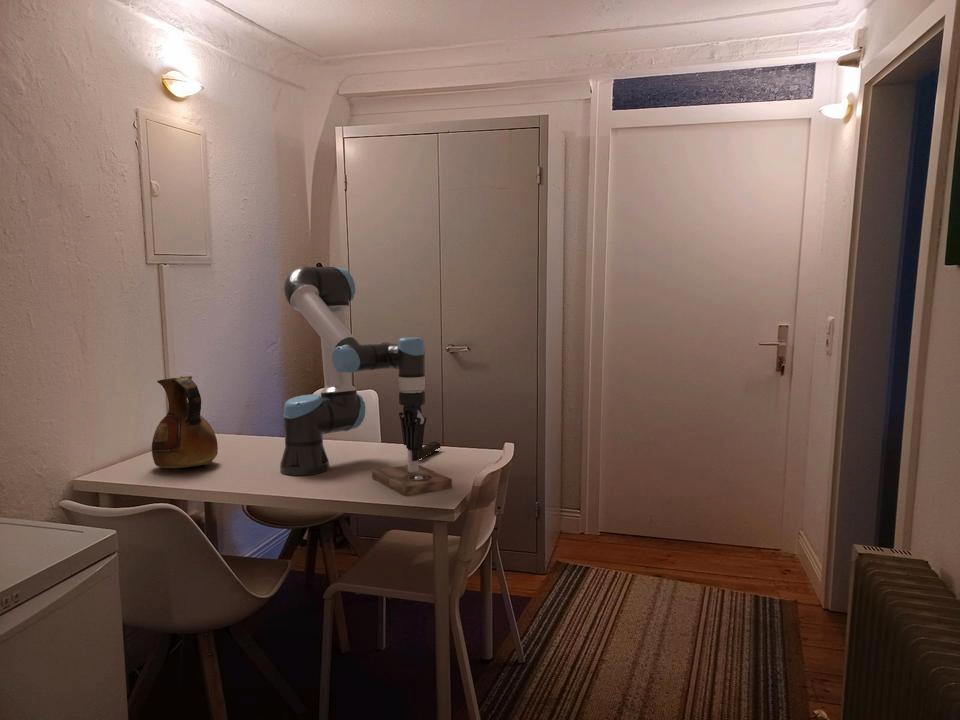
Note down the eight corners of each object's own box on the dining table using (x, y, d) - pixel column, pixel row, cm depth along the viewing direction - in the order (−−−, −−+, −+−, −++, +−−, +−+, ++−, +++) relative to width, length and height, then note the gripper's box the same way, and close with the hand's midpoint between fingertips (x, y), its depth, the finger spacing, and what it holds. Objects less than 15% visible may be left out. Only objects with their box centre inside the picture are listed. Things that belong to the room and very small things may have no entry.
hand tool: (430, 451, 248) (430, 438, 248) (440, 452, 246) (440, 439, 246) (404, 463, 231) (404, 449, 230) (415, 464, 229) (415, 450, 229)
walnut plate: (404, 495, 191) (404, 486, 191) (372, 478, 210) (372, 470, 210) (451, 487, 200) (451, 479, 199) (416, 471, 218) (416, 463, 218)
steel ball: (412, 488, 201) (417, 485, 198) (410, 478, 202) (414, 474, 199) (422, 487, 202) (427, 484, 200) (420, 476, 203) (424, 473, 201)
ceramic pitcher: (192, 457, 239) (188, 371, 237) (232, 464, 229) (228, 374, 226) (139, 470, 222) (134, 377, 220) (179, 478, 212) (175, 380, 209)
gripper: (434, 392, 198) (435, 473, 200) (413, 387, 208) (414, 464, 211) (410, 394, 194) (411, 477, 196) (390, 389, 204) (391, 468, 207)
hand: (413, 471), depth 203 cm, fingers closed
